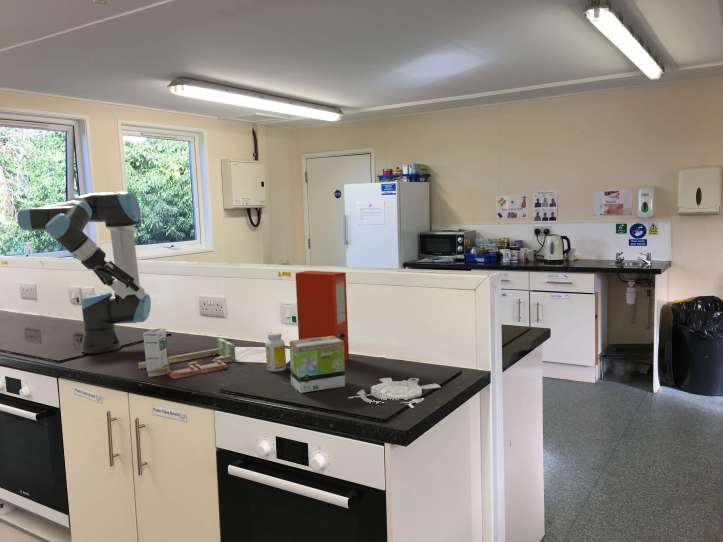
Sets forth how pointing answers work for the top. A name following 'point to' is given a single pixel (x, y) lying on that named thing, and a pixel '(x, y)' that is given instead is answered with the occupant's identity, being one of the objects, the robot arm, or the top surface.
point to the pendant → (396, 390)
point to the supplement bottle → (275, 352)
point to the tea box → (317, 363)
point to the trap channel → (193, 368)
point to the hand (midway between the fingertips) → (134, 296)
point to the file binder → (322, 306)
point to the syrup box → (156, 349)
